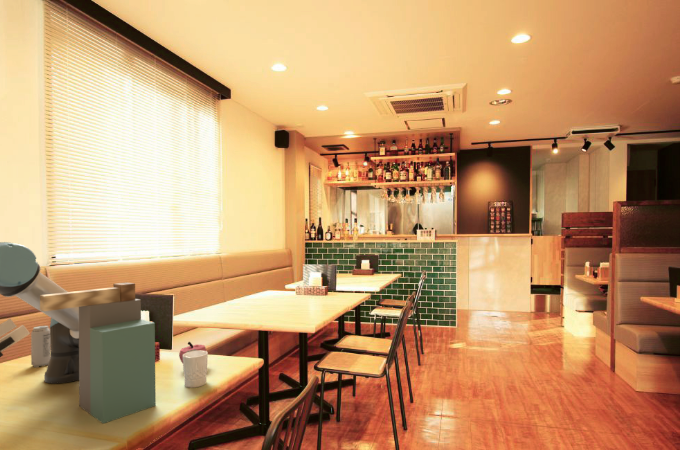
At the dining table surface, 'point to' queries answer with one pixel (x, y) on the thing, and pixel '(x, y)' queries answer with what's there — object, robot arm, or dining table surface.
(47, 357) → the energy drink can
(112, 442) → the dining table surface
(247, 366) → the dining table surface
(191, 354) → the white cup
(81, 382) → the stand
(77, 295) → the wooden bar
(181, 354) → the apple
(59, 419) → the dining table surface
